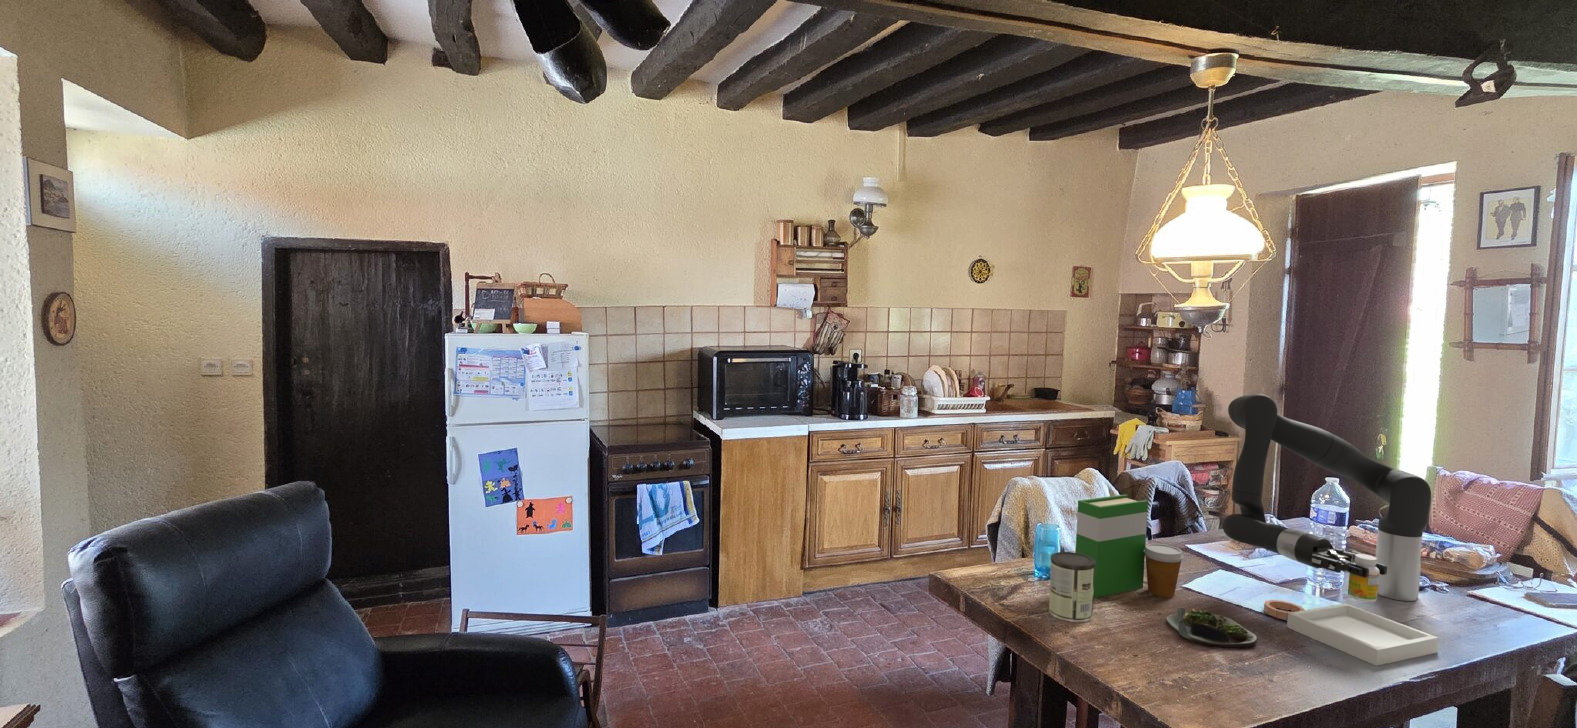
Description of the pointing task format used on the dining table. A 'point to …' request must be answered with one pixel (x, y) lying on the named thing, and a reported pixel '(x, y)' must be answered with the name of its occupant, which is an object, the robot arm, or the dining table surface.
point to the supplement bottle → (1364, 580)
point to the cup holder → (1273, 604)
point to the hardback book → (1113, 541)
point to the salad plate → (1211, 630)
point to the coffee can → (1071, 587)
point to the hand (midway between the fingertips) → (1376, 571)
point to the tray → (1363, 633)
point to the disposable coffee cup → (1162, 568)
